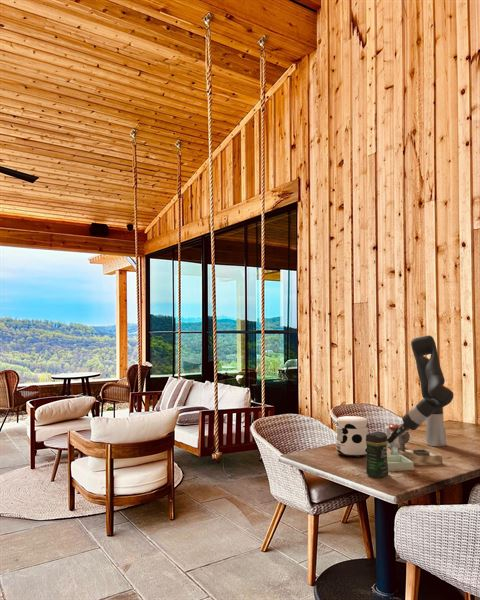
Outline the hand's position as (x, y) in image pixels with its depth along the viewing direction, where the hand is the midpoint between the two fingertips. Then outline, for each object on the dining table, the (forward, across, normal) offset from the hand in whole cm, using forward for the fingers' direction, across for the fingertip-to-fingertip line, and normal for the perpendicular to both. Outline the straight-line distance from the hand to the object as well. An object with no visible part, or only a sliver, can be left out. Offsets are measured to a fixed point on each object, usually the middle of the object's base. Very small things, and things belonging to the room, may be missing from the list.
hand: (390, 440), depth 215 cm
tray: (+7, 0, +9) cm, 12 cm away
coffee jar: (+8, +17, +9) cm, 21 cm away
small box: (+17, -35, -1) cm, 39 cm away
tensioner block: (+3, -15, +13) cm, 20 cm away
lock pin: (+3, 0, +6) cm, 6 cm away
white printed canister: (+24, -8, -8) cm, 27 cm away
